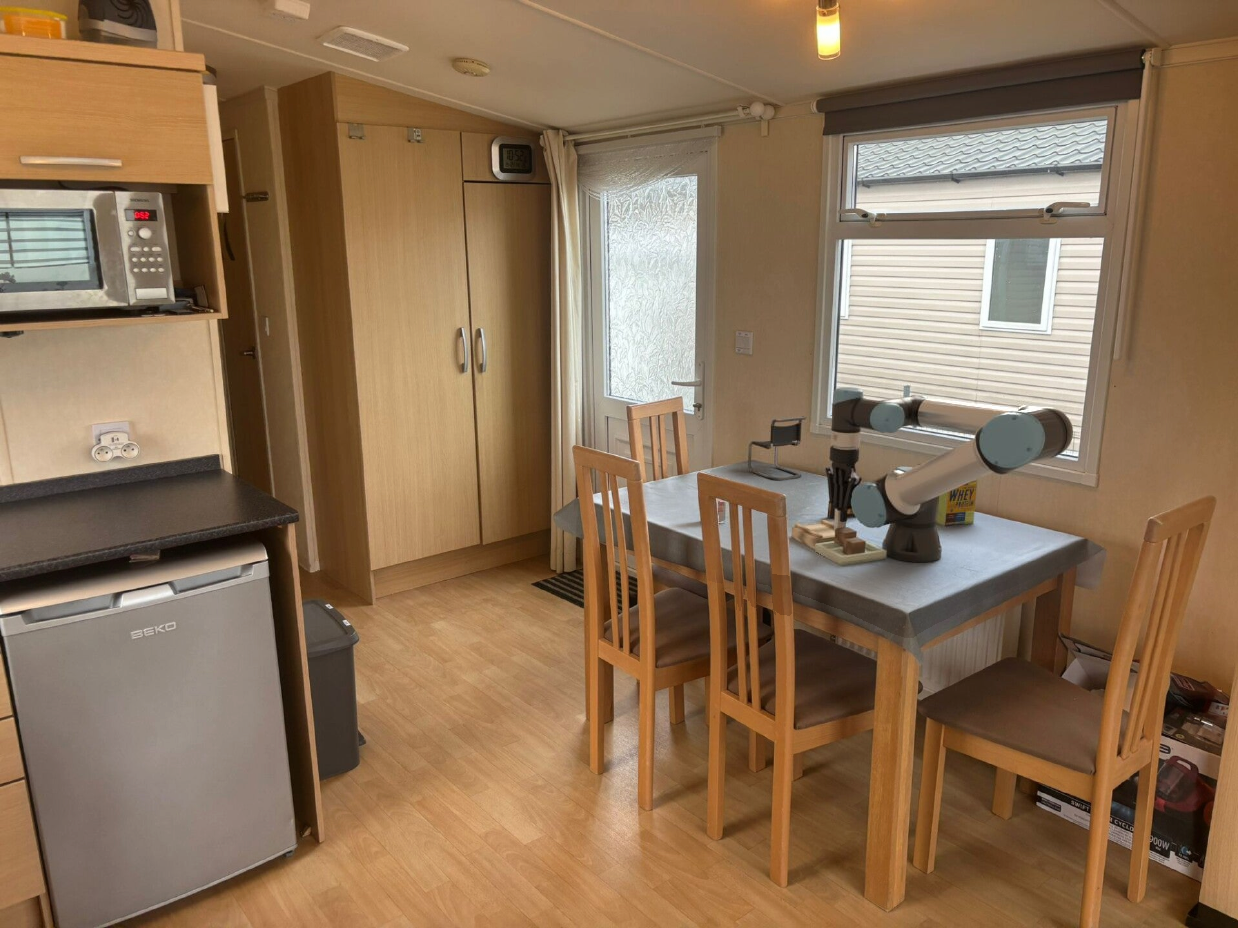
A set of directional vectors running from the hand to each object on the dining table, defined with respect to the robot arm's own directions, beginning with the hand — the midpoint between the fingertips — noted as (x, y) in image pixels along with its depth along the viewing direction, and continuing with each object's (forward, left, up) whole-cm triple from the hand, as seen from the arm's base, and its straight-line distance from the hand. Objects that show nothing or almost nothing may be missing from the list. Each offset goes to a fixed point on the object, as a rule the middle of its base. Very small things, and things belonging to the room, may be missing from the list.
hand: (839, 532), depth 244 cm
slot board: (+8, 0, -5) cm, 9 cm away
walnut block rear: (-3, 0, -3) cm, 4 cm away
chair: (+79, -29, -5) cm, 84 cm away
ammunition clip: (+25, -20, -5) cm, 32 cm away
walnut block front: (-5, 0, -2) cm, 5 cm away
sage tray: (-5, 0, -5) cm, 7 cm away
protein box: (+13, -47, -5) cm, 49 cm away
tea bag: (+35, +20, -5) cm, 41 cm away
